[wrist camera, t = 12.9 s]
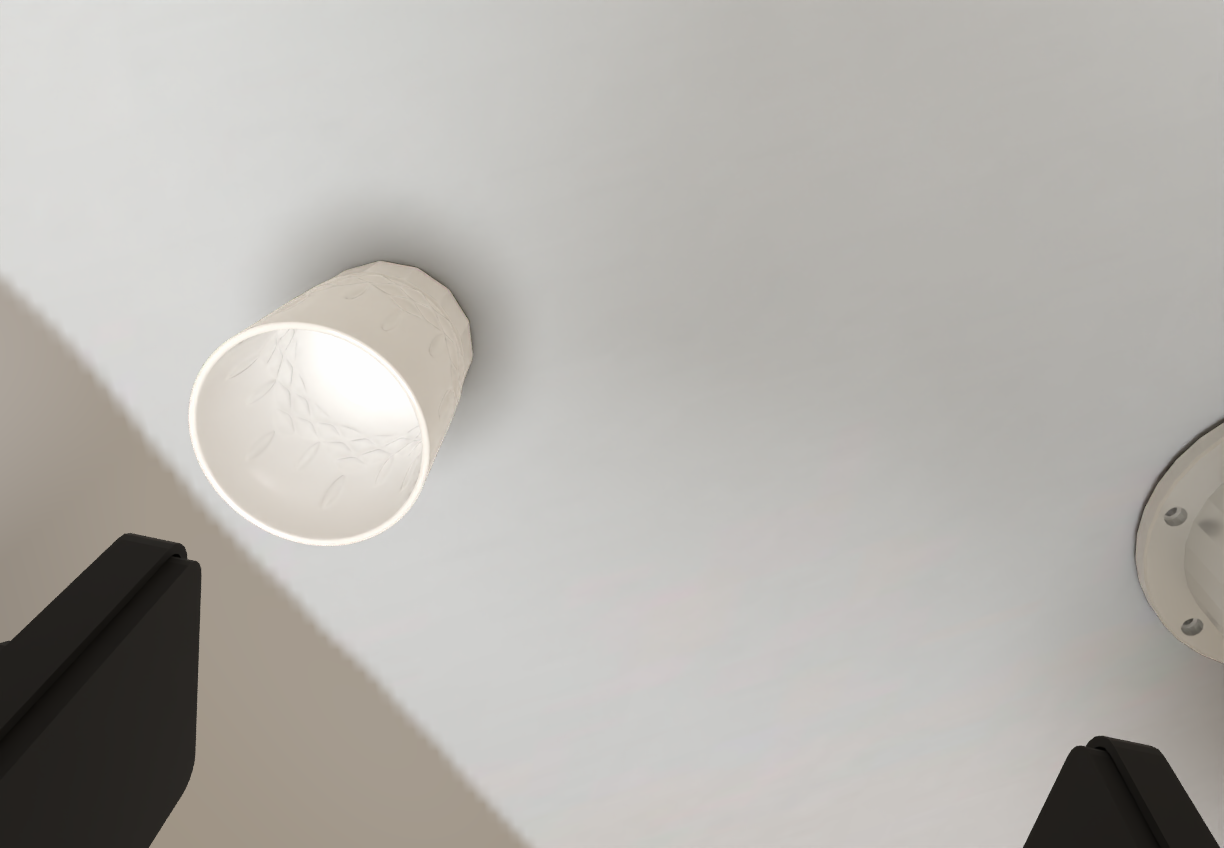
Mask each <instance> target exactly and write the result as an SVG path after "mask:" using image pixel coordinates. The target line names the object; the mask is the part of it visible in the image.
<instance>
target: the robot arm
mask: <svg viewBox="0 0 1224 848" xmlns="http://www.w3.org/2000/svg"><path fill="white" fill-rule="evenodd" d="M1135 560H1136V565H1137V571H1138V577H1139V583H1140V585H1141V587H1142V589H1143V592H1144V594H1145V596H1146V598H1147V601H1148V603H1149V605H1150V606H1151V607H1152V609H1153V610H1154V611H1155V613H1156V614H1157V616H1158V617H1159V619H1160V620H1161V621H1162V623H1163V624H1164V625H1165V626H1166V628H1167V629H1168V630H1169V631H1170V632H1171V633H1172V634H1173V635H1174V636H1175V637H1176V638H1177V639H1178V640H1179V641H1181V642H1182V643H1184V644H1185V645H1187V646H1188V647H1190V648H1191V649H1193V650H1194V651H1196V652H1197V653H1199V654H1200V655H1203V656H1205V657H1208V658H1210V659H1213V660H1215V661H1218V662H1220V663H1223V664H1224V423H1222V424H1221V425H1219V426H1218V427H1216V428H1215V429H1213V430H1212V431H1210V432H1209V433H1207V434H1206V435H1204V436H1203V437H1201V438H1200V439H1199V440H1197V441H1196V442H1195V443H1194V444H1193V445H1192V446H1191V447H1190V448H1189V449H1188V450H1187V451H1185V452H1184V453H1183V454H1182V455H1181V456H1180V457H1179V458H1178V459H1177V460H1176V461H1175V462H1174V463H1173V465H1172V466H1171V467H1170V469H1169V470H1168V471H1167V472H1166V474H1165V475H1164V476H1163V477H1162V479H1161V480H1160V481H1159V483H1158V484H1157V486H1156V488H1155V490H1154V492H1153V493H1152V495H1151V497H1150V499H1149V501H1148V503H1147V505H1146V507H1145V509H1144V512H1143V515H1142V519H1141V522H1140V526H1139V529H1138V532H1137V542H1136V557H1135ZM200 598H201V567H200V564H199V563H198V562H197V561H193V560H188V559H187V552H186V549H185V547H184V546H183V545H182V544H180V543H175V542H170V541H166V540H161V539H156V538H151V537H146V536H141V535H137V534H132V533H128V534H124V535H122V536H121V537H119V538H118V539H117V540H116V541H115V542H114V543H113V544H112V545H111V546H110V547H109V548H108V549H107V550H105V552H103V553H102V554H101V555H100V556H99V557H98V558H97V559H96V560H95V561H94V562H93V563H92V564H91V565H90V566H89V567H88V568H87V569H86V570H85V571H83V572H82V573H81V574H80V575H79V576H78V577H77V578H76V579H75V580H74V581H73V582H72V583H71V584H70V585H69V586H68V587H67V588H66V589H65V590H64V591H63V592H62V593H60V594H59V596H57V597H56V598H55V599H54V600H53V601H52V602H51V603H50V604H49V605H48V606H47V607H46V608H45V609H44V610H43V611H42V612H41V613H40V614H38V615H37V617H35V618H34V619H33V620H32V621H31V622H30V623H29V624H28V625H27V626H26V627H25V628H24V629H23V630H22V631H21V632H20V633H19V634H18V635H16V637H14V638H13V639H12V640H11V641H6V642H3V643H0V848H149V846H150V845H151V843H152V842H153V840H154V838H155V837H156V835H157V834H158V832H159V831H160V829H161V827H162V826H163V824H164V823H165V821H166V819H167V818H168V816H169V815H170V813H171V812H172V810H173V808H174V807H175V805H176V804H177V802H178V801H179V799H180V797H181V796H182V794H183V792H184V791H185V789H186V787H187V784H188V782H189V780H190V777H191V773H192V770H193V766H194V761H195V746H196V716H197V687H198V659H199V629H200ZM1023 848H1220V847H1219V845H1218V844H1217V842H1216V840H1215V839H1214V837H1213V835H1212V834H1211V832H1210V831H1209V829H1208V827H1207V826H1206V824H1205V822H1204V821H1203V819H1202V817H1201V816H1200V814H1199V812H1198V811H1197V809H1196V808H1195V806H1194V804H1193V803H1192V801H1191V799H1190V798H1189V796H1188V794H1187V793H1186V791H1185V789H1184V788H1183V786H1182V785H1181V783H1180V781H1179V780H1178V778H1177V776H1176V775H1175V773H1174V771H1173V770H1172V768H1171V767H1170V765H1169V763H1168V762H1167V760H1166V758H1165V757H1164V755H1163V754H1162V753H1161V752H1160V751H1159V750H1158V749H1156V748H1154V747H1152V746H1149V745H1144V744H1139V743H1134V742H1130V741H1125V740H1120V739H1115V738H1110V737H1106V736H1096V737H1094V738H1093V739H1092V740H1090V741H1089V742H1088V744H1087V745H1086V747H1085V746H1076V747H1075V748H1073V749H1072V750H1071V752H1070V753H1069V755H1068V757H1067V759H1066V761H1065V763H1064V765H1063V767H1062V769H1061V771H1060V773H1059V775H1058V777H1057V779H1056V781H1055V783H1054V785H1053V787H1052V789H1051V791H1050V793H1049V795H1048V798H1047V800H1046V802H1045V804H1044V806H1043V808H1042V810H1041V812H1040V814H1039V816H1038V818H1037V820H1036V822H1035V824H1034V826H1033V828H1032V830H1031V832H1030V834H1029V836H1028V839H1027V841H1026V843H1025V845H1024V847H1023Z"/></svg>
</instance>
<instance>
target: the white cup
mask: <svg viewBox="0 0 1224 848" xmlns="http://www.w3.org/2000/svg"><path fill="white" fill-rule="evenodd" d="M472 359H473V351H472V342H471V334H470V325H469V321H468V319H467V317H466V316H465V314H464V312H463V311H462V309H461V308H460V306H459V304H458V303H457V301H456V300H455V298H454V296H453V295H452V293H451V292H450V290H449V289H448V288H446V287H445V286H443V285H442V284H441V283H439V282H438V281H436V280H435V279H433V278H432V277H430V276H429V275H427V274H426V273H424V272H423V271H422V270H420V269H419V268H417V267H412V266H406V265H401V264H395V263H390V262H384V261H377V262H373V263H370V264H366V265H362V266H359V267H355V268H352V269H348V270H345V271H343V272H341V273H340V274H338V275H337V276H335V277H334V278H332V279H330V280H328V281H325V282H323V283H321V284H319V285H317V286H315V287H313V288H311V289H310V290H308V291H307V292H305V293H304V294H302V295H300V296H298V297H296V298H294V299H292V300H290V301H289V302H287V303H286V304H284V305H283V306H281V307H279V308H278V309H276V310H275V311H273V312H272V313H270V314H269V315H267V316H265V317H264V318H262V319H261V320H259V321H258V322H256V323H254V324H253V325H251V326H250V327H248V328H246V329H245V330H243V331H241V332H240V333H238V334H237V335H235V336H233V337H232V338H230V339H229V340H227V341H226V342H225V343H223V344H222V345H221V346H220V347H219V348H217V349H216V350H215V351H214V352H213V353H212V355H211V356H210V357H209V358H208V359H207V361H206V362H205V364H204V365H203V367H202V368H201V370H200V372H199V374H198V376H197V378H196V380H195V383H194V385H193V389H192V392H191V396H190V402H189V411H188V422H189V432H190V438H191V442H192V446H193V449H194V452H195V455H196V458H197V460H198V462H199V465H200V467H201V469H202V471H203V472H204V474H205V476H206V478H207V479H208V481H209V482H210V484H211V485H212V486H213V488H214V489H215V490H216V492H217V493H218V494H219V495H220V496H221V498H222V499H223V500H224V501H225V502H226V503H227V504H228V505H229V506H230V507H231V508H232V509H234V510H235V511H236V512H237V513H238V514H240V515H241V516H242V517H244V518H245V519H246V520H248V521H249V522H251V523H252V524H254V525H256V526H257V527H259V528H261V529H263V530H265V531H267V532H269V533H271V534H273V535H276V536H278V537H281V538H284V539H287V540H290V541H294V542H298V543H303V544H309V545H318V546H337V545H346V544H351V543H356V542H360V541H363V540H366V539H369V538H371V537H374V536H376V535H378V534H380V533H382V532H383V531H385V530H387V529H388V528H390V527H391V526H393V525H394V524H395V523H396V522H398V521H399V520H400V519H401V518H402V517H403V516H404V515H405V514H406V513H407V512H408V511H409V509H410V508H411V507H412V506H413V504H414V503H415V501H416V500H417V498H418V496H419V494H420V492H421V490H422V488H423V486H424V483H425V481H426V479H427V476H428V474H429V472H430V469H431V467H432V465H433V462H434V460H435V458H436V456H437V453H438V451H439V449H440V446H441V444H442V442H443V440H444V437H445V435H446V433H447V430H448V428H449V426H450V424H451V421H452V419H453V417H454V414H455V411H456V407H457V405H458V403H459V400H460V397H461V392H462V386H463V383H464V380H465V378H466V375H467V372H468V370H469V367H470V364H471V362H472Z"/></svg>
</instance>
